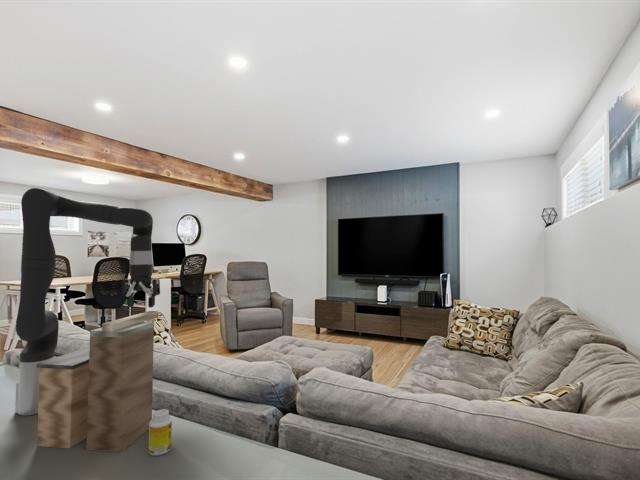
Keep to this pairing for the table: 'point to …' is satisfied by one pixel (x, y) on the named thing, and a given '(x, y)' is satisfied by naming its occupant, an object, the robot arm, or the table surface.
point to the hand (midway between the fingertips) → (140, 307)
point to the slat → (129, 321)
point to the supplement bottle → (160, 432)
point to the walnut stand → (119, 386)
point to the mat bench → (63, 400)
